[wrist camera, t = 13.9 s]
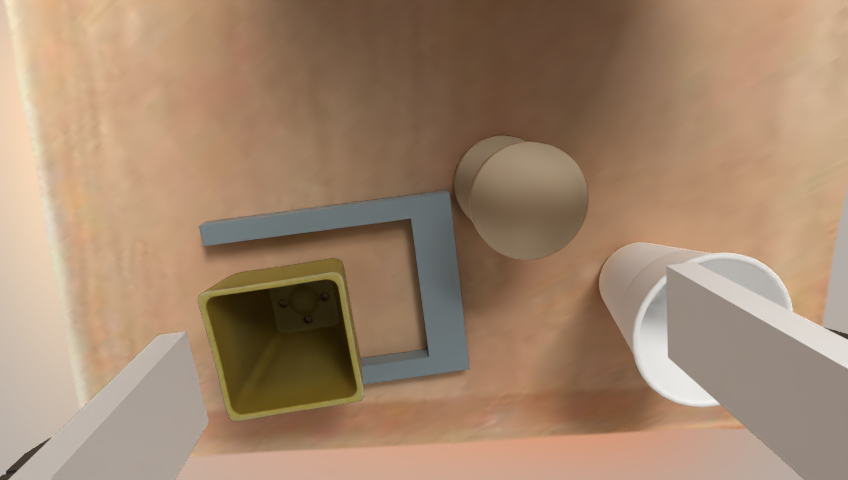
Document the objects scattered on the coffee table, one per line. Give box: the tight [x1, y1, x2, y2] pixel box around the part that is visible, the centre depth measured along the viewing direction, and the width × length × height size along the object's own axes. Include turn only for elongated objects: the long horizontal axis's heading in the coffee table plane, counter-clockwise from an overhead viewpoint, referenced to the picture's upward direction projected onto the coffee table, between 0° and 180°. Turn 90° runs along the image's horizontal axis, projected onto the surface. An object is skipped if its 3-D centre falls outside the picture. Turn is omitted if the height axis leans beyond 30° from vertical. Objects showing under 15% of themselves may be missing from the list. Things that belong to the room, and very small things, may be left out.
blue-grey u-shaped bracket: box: [199, 190, 470, 384], centre depth 42 cm, size 18×14×2 cm
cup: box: [599, 242, 793, 407], centre depth 38 cm, size 10×10×11 cm
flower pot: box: [198, 258, 364, 421], centre depth 38 cm, size 9×9×9 cm
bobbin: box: [454, 135, 588, 260], centre depth 37 cm, size 7×7×9 cm
